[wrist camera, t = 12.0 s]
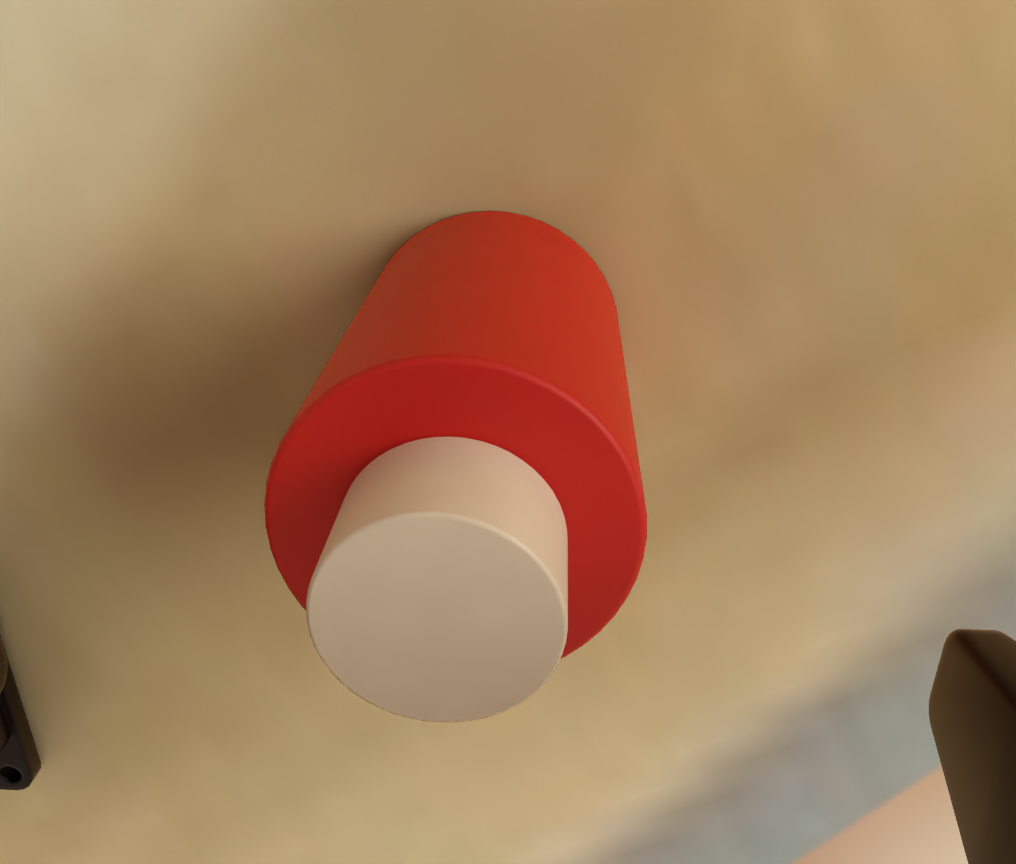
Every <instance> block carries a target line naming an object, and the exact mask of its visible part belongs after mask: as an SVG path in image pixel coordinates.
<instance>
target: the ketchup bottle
mask: <svg viewBox="0 0 1016 864" xmlns="http://www.w3.org/2000/svg"><path fill="white" fill-rule="evenodd" d="M264 506H265V521H266V529H267V534H268V538H269V543H270V547H271V551H272V553H273V556H274V559H275V561H276V564H277V567H278V569H279V571H280V573H281V575H282V577H283V579H284V581H285V582H286V584H287V586H288V588H289V589H290V591H291V592H292V594H293V595H294V596H295V598H296V599H297V600H298V602H299V603H300V605H301V606H302V607H303V608H304V609H305V610H306V613H307V622H308V627H309V632H310V635H311V638H312V640H313V643H314V646H315V648H316V650H317V652H318V654H319V655H320V657H321V659H322V661H323V662H324V663H325V665H326V666H327V667H328V669H329V670H330V671H331V672H332V674H333V675H334V676H335V677H336V678H337V679H338V680H339V681H340V682H341V683H342V684H343V685H345V686H346V687H347V688H348V689H349V690H351V691H352V692H353V693H355V694H356V695H358V696H359V697H361V698H362V699H364V700H365V701H367V702H369V703H371V704H373V705H375V706H377V707H379V708H381V709H384V710H386V711H389V712H391V713H394V714H397V715H400V716H404V717H407V718H412V719H417V720H422V721H431V722H463V721H472V720H476V719H481V718H486V717H489V716H492V715H495V714H498V713H501V712H503V711H506V710H508V709H510V708H512V707H514V706H516V705H518V704H519V703H521V702H522V701H524V700H526V699H527V698H528V697H530V696H531V695H532V694H533V693H535V692H536V691H537V690H538V689H539V688H540V687H541V686H542V685H543V684H544V683H545V682H546V680H547V679H548V678H549V677H550V675H551V674H552V672H553V671H554V669H555V668H556V666H557V664H558V662H559V660H560V659H561V658H563V657H565V656H567V655H568V654H570V653H571V652H573V651H575V650H576V649H578V648H579V647H581V646H583V645H584V644H585V643H586V642H588V641H589V640H590V639H591V638H593V637H594V636H595V635H596V634H597V633H599V632H600V631H601V630H602V629H603V628H604V626H605V625H606V624H607V623H608V622H609V621H610V620H611V619H612V618H613V617H614V615H615V614H616V613H617V611H618V610H619V608H620V607H621V605H622V604H623V603H624V601H625V600H626V598H627V597H628V595H629V593H630V591H631V589H632V587H633V585H634V583H635V581H636V579H637V576H638V573H639V570H640V567H641V564H642V561H643V558H644V551H645V545H646V539H647V513H646V507H645V500H644V493H643V486H642V480H641V473H640V466H639V459H638V453H637V446H636V439H635V432H634V425H633V419H632V412H631V405H630V398H629V392H628V385H627V378H626V371H625V365H624V358H623V351H622V344H621V337H620V331H619V324H618V317H617V311H616V306H615V303H614V299H613V296H612V293H611V290H610V288H609V286H608V284H607V282H606V280H605V277H604V276H603V274H602V273H601V271H600V270H599V268H598V266H597V265H596V263H595V262H594V261H593V260H592V259H591V257H590V256H589V255H588V254H587V253H586V252H585V251H584V250H583V249H582V248H581V247H580V246H579V245H578V244H577V243H576V242H575V241H573V240H572V239H571V238H569V237H568V236H566V235H565V234H564V233H562V232H561V231H559V230H558V229H556V228H554V227H552V226H550V225H548V224H546V223H544V222H542V221H539V220H536V219H533V218H530V217H528V216H524V215H519V214H514V213H510V212H498V211H482V212H471V213H466V214H460V215H456V216H453V217H450V218H447V219H444V220H441V221H439V222H437V223H435V224H433V225H430V226H428V227H426V228H425V229H423V230H422V231H420V232H419V233H417V234H416V235H414V236H413V237H411V238H410V239H409V240H408V241H407V242H406V243H405V244H404V245H403V246H401V247H400V248H399V249H398V251H397V252H396V253H395V254H394V255H393V257H392V258H391V259H390V260H389V262H388V263H387V265H386V266H385V268H384V270H383V271H382V273H381V274H380V276H379V278H378V279H377V281H376V283H375V284H374V286H373V288H372V289H371V291H370V293H369V294H368V296H367V298H366V299H365V301H364V303H363V305H362V306H361V308H360V310H359V311H358V313H357V315H356V316H355V318H354V320H353V321H352V323H351V325H350V326H349V328H348V330H347V331H346V333H345V335H344V336H343V338H342V340H341V341H340V343H339V345H338V346H337V348H336V350H335V351H334V353H333V355H332V356H331V358H330V360H329V361H328V363H327V365H326V366H325V368H324V370H323V371H322V373H321V375H320V376H319V378H318V380H317V381H316V383H315V385H314V386H313V388H312V390H311V391H310V393H309V395H308V396H307V398H306V400H305V401H304V403H303V405H302V407H301V408H300V410H299V412H298V413H297V415H296V417H295V418H294V420H293V422H292V423H291V425H290V427H289V428H288V430H287V432H286V433H285V435H284V437H283V438H282V440H281V442H280V444H279V446H278V448H277V451H276V453H275V455H274V458H273V460H272V462H271V466H270V470H269V474H268V478H267V482H266V492H265V503H264Z"/></svg>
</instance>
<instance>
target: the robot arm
mask: <svg viewBox="0 0 1016 864" xmlns="http://www.w3.org/2000/svg"><path fill="white" fill-rule="evenodd" d="M929 718H930V724H931V728H932V732H933V735H934V739H935V743H936V746H937V750H938V754H939V758H940V761H941V765H942V769H943V772H944V775H945V779H946V783H947V787H948V791H949V794H950V798H951V801H952V805H953V809H954V813H955V816H956V820H957V823H958V827H959V831H960V835H961V838H962V842H963V846H964V849H965V853H966V856H967V860H968V863H969V864H1016V641H1015V640H1013V639H1012V638H1010V637H1009V636H1007V635H1006V634H1004V633H1002V632H999V631H995V630H972V629H957V630H955V631H953V632H951V633H950V634H949V636H948V637H947V639H946V641H945V644H944V647H943V651H942V654H941V658H940V661H939V665H938V669H937V672H936V676H935V679H934V683H933V687H932V690H931V694H930V699H929ZM40 768H41V762H40V759H39V755H38V752H37V749H36V746H35V743H34V740H33V737H32V734H31V730H30V727H29V724H28V721H27V718H26V715H25V712H24V709H23V705H22V702H21V699H20V696H19V693H18V690H17V687H16V684H15V680H14V677H13V674H12V671H11V668H10V665H9V662H8V658H7V655H6V652H5V649H4V646H3V643H2V640H1V637H0V789H6V790H20V789H25V788H27V787H28V786H30V784H31V782H32V781H33V779H34V778H35V776H36V775H37V773H38V772H39V770H40Z"/></svg>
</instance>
